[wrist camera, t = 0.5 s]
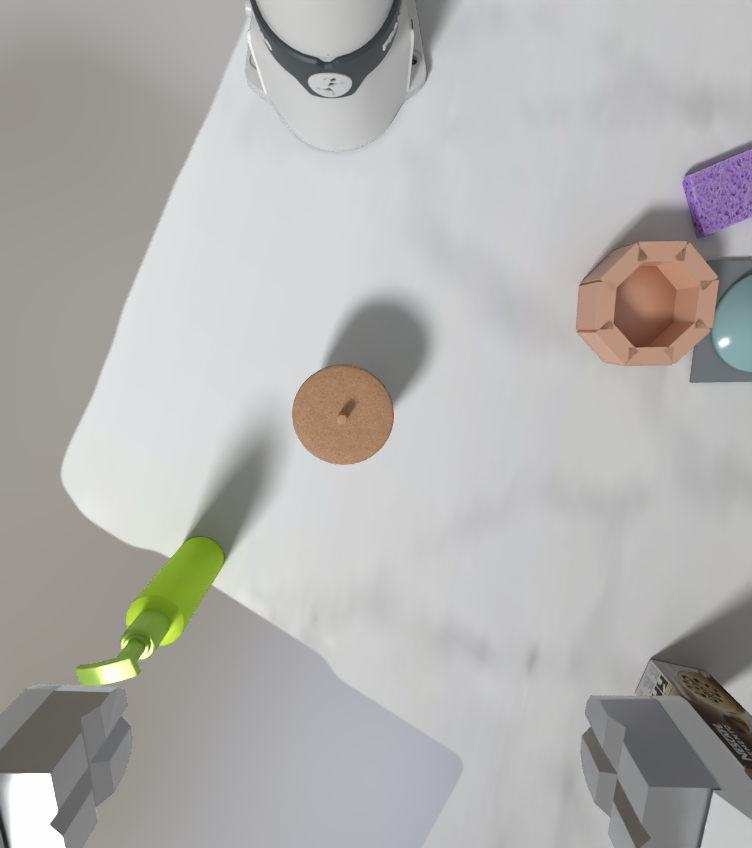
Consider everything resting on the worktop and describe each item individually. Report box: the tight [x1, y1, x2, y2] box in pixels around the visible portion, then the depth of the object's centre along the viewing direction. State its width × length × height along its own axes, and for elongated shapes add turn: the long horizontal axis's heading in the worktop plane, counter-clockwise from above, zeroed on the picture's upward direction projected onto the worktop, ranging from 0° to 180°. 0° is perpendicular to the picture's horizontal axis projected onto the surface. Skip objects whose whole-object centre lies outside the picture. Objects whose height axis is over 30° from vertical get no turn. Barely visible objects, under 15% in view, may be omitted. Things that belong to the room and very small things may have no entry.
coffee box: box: [635, 659, 752, 780], centre depth 56 cm, size 9×6×16 cm
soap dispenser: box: [75, 537, 224, 686], centre depth 49 cm, size 6×7×20 cm
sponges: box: [683, 149, 752, 238], centre depth 50 cm, size 7×13×2 cm, turn 112°
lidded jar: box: [292, 365, 394, 465], centre depth 50 cm, size 11×11×9 cm
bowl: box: [576, 241, 719, 366], centre depth 51 cm, size 13×13×4 cm
